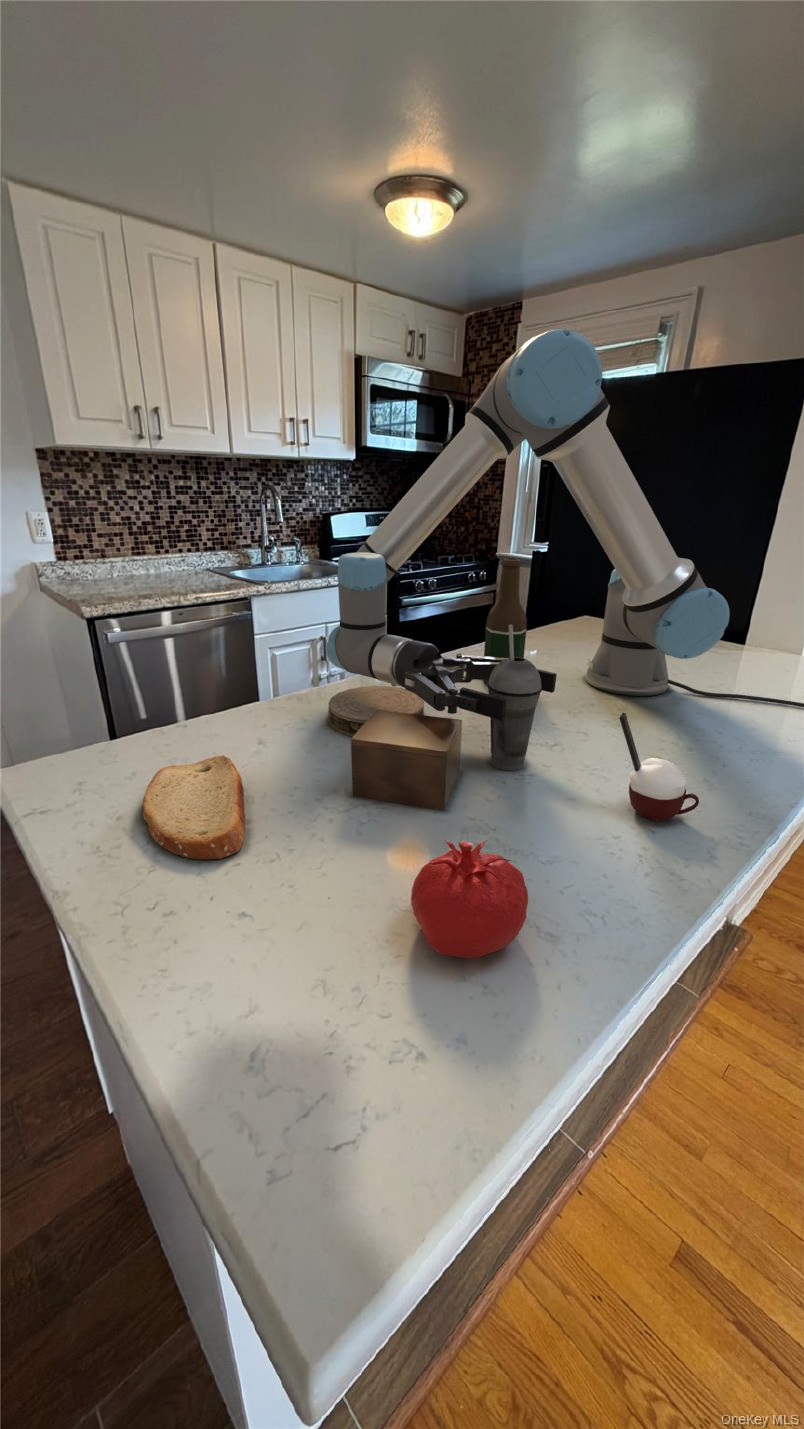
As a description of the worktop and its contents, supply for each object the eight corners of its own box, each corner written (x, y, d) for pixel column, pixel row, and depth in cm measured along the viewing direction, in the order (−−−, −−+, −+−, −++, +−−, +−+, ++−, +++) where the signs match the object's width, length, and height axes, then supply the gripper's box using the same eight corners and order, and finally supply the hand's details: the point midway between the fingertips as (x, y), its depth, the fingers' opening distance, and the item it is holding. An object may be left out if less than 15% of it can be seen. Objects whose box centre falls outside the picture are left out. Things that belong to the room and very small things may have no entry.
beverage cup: (533, 777, 77) (550, 633, 69) (479, 772, 78) (490, 630, 71) (533, 754, 83) (548, 620, 76) (483, 749, 85) (493, 617, 77)
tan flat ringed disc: (390, 746, 85) (390, 728, 84) (309, 724, 93) (308, 707, 92) (440, 713, 98) (441, 697, 97) (365, 695, 106) (364, 680, 104)
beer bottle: (481, 686, 111) (490, 560, 102) (483, 673, 118) (491, 555, 109) (521, 688, 110) (534, 562, 101) (520, 676, 117) (532, 556, 108)
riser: (459, 773, 78) (462, 719, 75) (444, 810, 69) (447, 751, 66) (376, 761, 81) (376, 709, 78) (352, 795, 72) (350, 738, 69)
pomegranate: (537, 971, 46) (550, 879, 43) (416, 978, 46) (418, 884, 42) (507, 890, 56) (515, 809, 52) (405, 895, 55) (407, 813, 51)
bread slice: (221, 868, 58) (217, 838, 57) (88, 832, 64) (81, 803, 62) (307, 787, 74) (305, 761, 72) (193, 764, 80) (190, 740, 78)
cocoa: (699, 820, 68) (722, 728, 63) (672, 838, 64) (694, 742, 59) (628, 788, 74) (643, 703, 70) (599, 803, 71) (614, 714, 66)
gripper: (454, 668, 98) (568, 697, 85) (351, 708, 80) (477, 752, 68) (456, 625, 95) (575, 649, 82) (350, 657, 78) (480, 693, 65)
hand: (531, 695), depth 75 cm, fingers open, 13 cm apart
